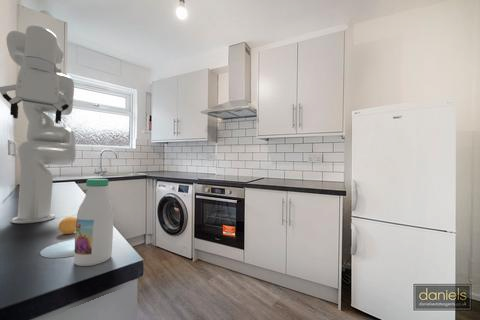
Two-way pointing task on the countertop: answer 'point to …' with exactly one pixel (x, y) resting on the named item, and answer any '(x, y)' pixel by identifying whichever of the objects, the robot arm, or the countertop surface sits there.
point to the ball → (68, 225)
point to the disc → (59, 250)
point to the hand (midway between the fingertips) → (36, 120)
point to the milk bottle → (94, 225)
